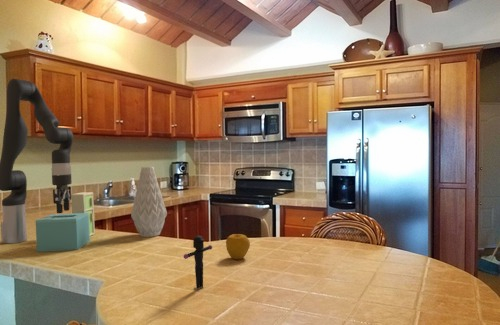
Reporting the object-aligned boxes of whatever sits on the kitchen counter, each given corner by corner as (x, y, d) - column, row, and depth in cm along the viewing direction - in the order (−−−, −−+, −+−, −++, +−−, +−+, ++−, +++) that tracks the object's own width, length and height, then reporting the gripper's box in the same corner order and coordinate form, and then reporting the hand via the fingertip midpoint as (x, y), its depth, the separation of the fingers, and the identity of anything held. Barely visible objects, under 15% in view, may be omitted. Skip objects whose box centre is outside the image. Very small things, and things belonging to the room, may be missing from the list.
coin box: (37, 252, 156) (35, 220, 155) (53, 242, 171) (51, 214, 171) (77, 249, 157) (76, 218, 157) (89, 241, 173) (88, 212, 173)
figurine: (207, 281, 113) (205, 231, 113) (217, 283, 111) (216, 232, 111) (180, 294, 103) (178, 239, 102) (191, 297, 101) (189, 241, 100)
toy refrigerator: (86, 238, 180) (84, 194, 179) (72, 237, 181) (70, 194, 181) (96, 234, 188) (94, 192, 187) (83, 234, 189) (81, 192, 189)
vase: (125, 236, 181) (122, 167, 181) (155, 230, 193) (152, 166, 193) (144, 240, 170) (141, 167, 169) (174, 234, 182) (172, 166, 181)
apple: (253, 255, 140) (252, 231, 139) (245, 262, 132) (244, 236, 131) (231, 254, 142) (230, 231, 142) (222, 260, 134) (221, 235, 134)
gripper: (59, 173, 170) (60, 209, 171) (45, 175, 156) (47, 214, 156) (76, 172, 171) (78, 209, 171) (64, 174, 157) (66, 214, 157)
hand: (63, 211), depth 164 cm, fingers open, 7 cm apart
